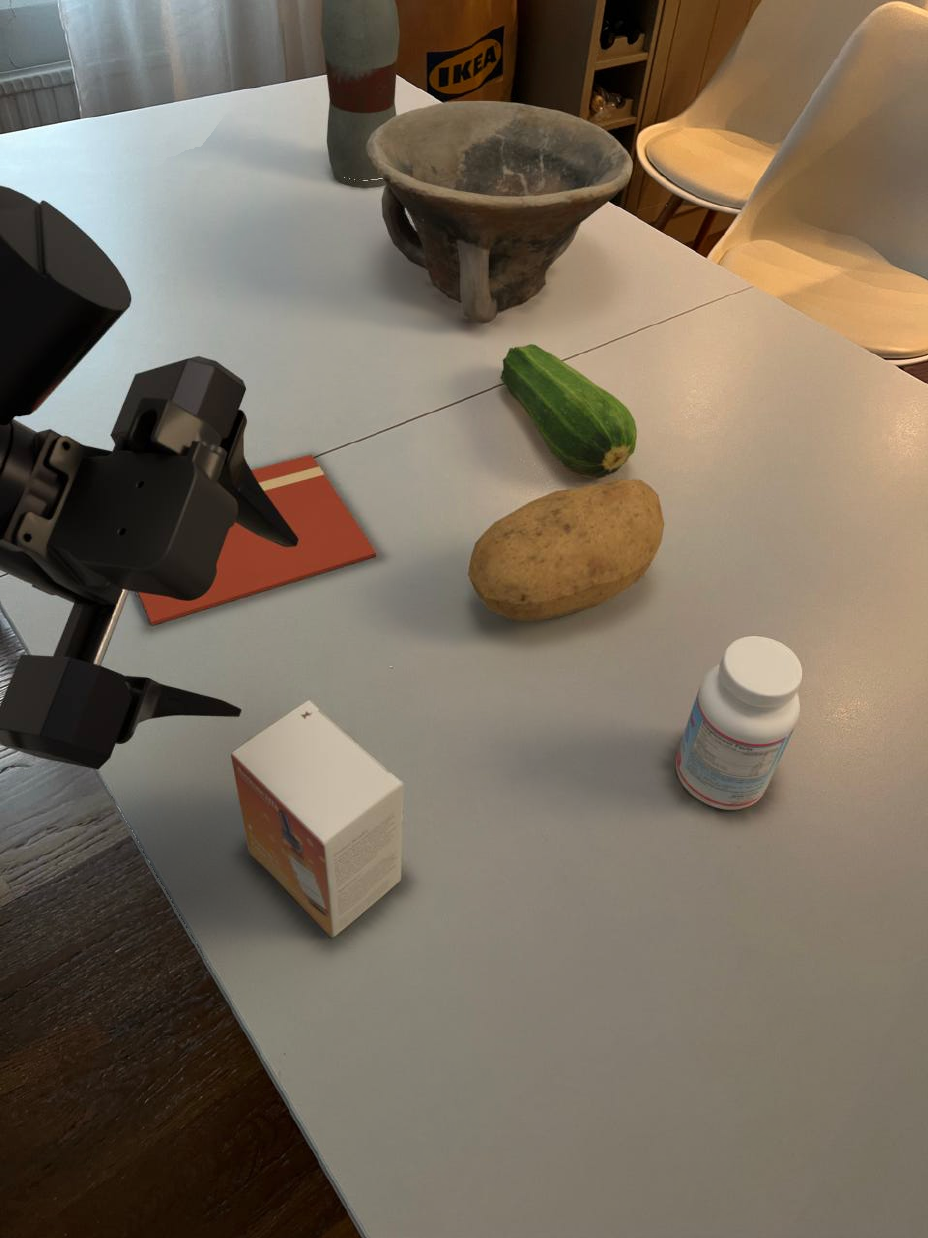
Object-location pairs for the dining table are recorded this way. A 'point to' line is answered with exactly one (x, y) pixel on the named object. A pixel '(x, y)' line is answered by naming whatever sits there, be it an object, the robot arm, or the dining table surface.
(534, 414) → the vegetable
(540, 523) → the potato
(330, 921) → the small box
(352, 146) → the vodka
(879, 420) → the dining table surface
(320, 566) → the tea towel
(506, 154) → the bowl
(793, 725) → the pill bottle
